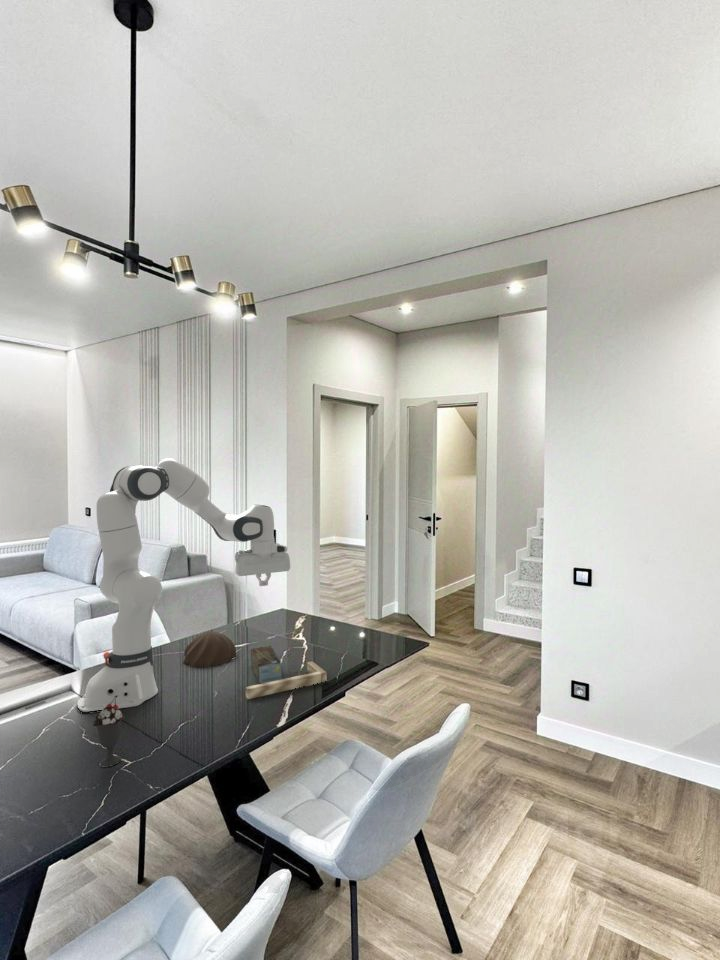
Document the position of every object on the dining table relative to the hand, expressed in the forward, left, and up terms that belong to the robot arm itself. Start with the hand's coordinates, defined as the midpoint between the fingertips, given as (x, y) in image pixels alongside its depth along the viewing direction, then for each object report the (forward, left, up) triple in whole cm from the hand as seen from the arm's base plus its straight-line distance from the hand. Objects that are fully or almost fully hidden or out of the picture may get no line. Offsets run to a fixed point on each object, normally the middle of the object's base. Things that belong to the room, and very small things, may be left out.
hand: (263, 585), depth 193 cm
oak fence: (-3, -27, -27) cm, 38 cm away
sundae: (-54, -51, -27) cm, 79 cm away
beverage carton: (-4, -14, -27) cm, 31 cm away
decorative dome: (-17, +12, -27) cm, 35 cm away
